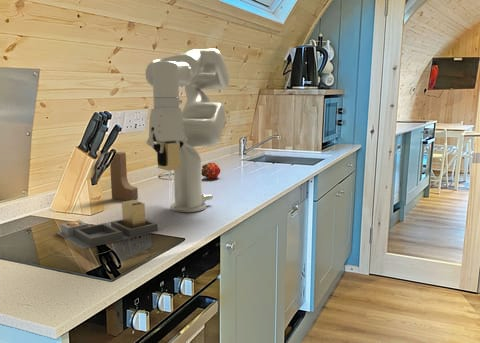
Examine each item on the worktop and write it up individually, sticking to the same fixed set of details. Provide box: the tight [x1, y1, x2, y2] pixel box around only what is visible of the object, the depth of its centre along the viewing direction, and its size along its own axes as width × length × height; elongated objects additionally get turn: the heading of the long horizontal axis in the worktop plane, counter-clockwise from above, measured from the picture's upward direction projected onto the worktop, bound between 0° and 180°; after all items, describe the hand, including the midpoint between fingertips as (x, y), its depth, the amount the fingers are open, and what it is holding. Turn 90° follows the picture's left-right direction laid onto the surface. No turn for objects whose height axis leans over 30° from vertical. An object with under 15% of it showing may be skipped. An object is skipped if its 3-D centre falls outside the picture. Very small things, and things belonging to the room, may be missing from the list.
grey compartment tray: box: [56, 218, 163, 250], centre depth 131 cm, size 24×18×4 cm
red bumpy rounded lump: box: [201, 162, 221, 180], centre depth 215 cm, size 8×8×12 cm
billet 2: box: [157, 142, 180, 171], centre depth 138 cm, size 4×6×8 cm, turn 42°
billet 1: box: [121, 199, 146, 229], centre depth 132 cm, size 4×6×8 cm, turn 42°
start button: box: [69, 221, 79, 226], centre depth 130 cm, size 3×3×2 cm
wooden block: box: [109, 151, 139, 201], centre depth 175 cm, size 9×4×18 cm, turn 70°
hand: (168, 164), depth 139 cm, fingers closed on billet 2, 4 cm apart
